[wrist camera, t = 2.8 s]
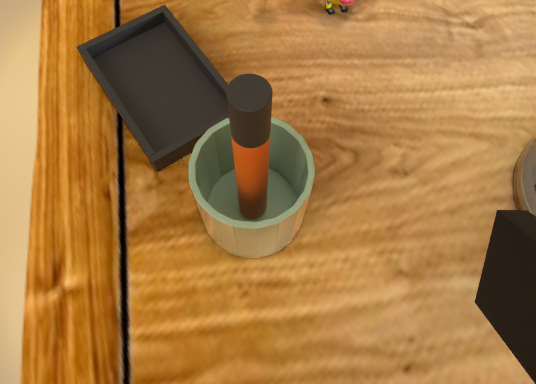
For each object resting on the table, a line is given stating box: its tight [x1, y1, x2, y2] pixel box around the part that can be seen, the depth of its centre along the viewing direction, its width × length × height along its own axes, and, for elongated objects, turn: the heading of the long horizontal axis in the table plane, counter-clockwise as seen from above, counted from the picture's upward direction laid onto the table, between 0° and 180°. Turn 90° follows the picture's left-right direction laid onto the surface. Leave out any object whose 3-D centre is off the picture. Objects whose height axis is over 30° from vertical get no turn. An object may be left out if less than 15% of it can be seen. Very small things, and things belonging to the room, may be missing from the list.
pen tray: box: [77, 5, 229, 171], centre depth 43 cm, size 15×10×2 cm, turn 35°
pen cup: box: [188, 117, 315, 258], centre depth 35 cm, size 9×9×8 cm
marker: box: [226, 74, 272, 219], centre depth 30 cm, size 2×2×17 cm
